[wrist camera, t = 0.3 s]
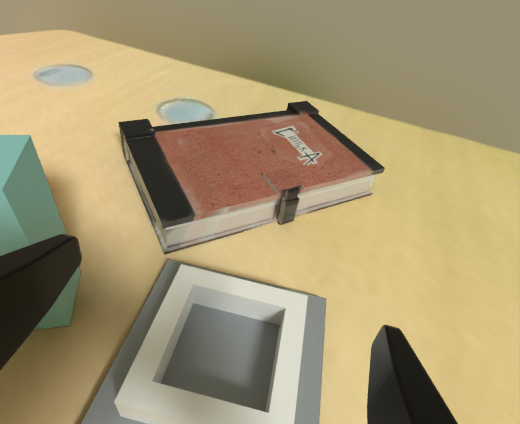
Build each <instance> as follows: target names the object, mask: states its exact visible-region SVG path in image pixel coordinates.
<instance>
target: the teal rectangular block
mask: <svg viewBox="0 0 520 424" xmlns="http://www.w3.org/2000/svg"><path fill="white" fill-rule="evenodd" d="M59 234H67V233H66V230H65V227H64V225H63V222H62V219H61V217H60V214H59V211H58V209H57V206H56V203H55V201H54V198H53V195H52V192H51V190H50V187H49V184H48V182H47V179H46V176H45V174H44V171H43V168H42V166H41V163H40V160H39V158H38V155H37V152H36V149H35V147H34V144H33V141H32V139H31V136H30V135H0V256H1V255H4V254H7V253H9V252H12V251H15V250H18V249H20V248H23V247H26V246H29V245H31V244H34V243H37V242H40V241H43V240H45V239H48V238H51V237H54V236H56V235H59ZM80 273H81V270H80V268H79V267H78V268H77V270H76V271H75V273H74V274H73V276H72V277H71V279H70V280H69V282H68V283H67V285H66V286H65V288H64V289H63V291H62V292H61V294H60V296H59V297H58V299H57V300H56V302H55V303H54V304H53V306H52V307H51V309H50V310H49V311H48V312H47V314H46V315H45V316H44V318H43V319H42V320H41V321H40V322H39V324H38V325H37V326H36V327H35V329H34V330H37V329H45V328H54V327H62V326H70V322H71V317H72V312H73V307H74V302H75V297H76V292H77V287H78V282H79V278H80Z"/></svg>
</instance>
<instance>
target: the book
mask: <svg viewBox="0 0 520 424" xmlns="http://www.w3.org/2000/svg"><path fill="white" fill-rule="evenodd" d="M318 112H319V110H317V109H316V108H315V107H314V106H312V105H311V104H310V103H309V102H307V101H303V102H294V103H288V107H287V110H286V111H278V112H270V113H262V114H254V115H246V116H237V117H229V118H221V119H213V120H205V121H197V122H189V123H180V124H172V125H164V126H156V127H152V125H151V124H150V122H149V120H148V119H142V120H133V121H124V122H119V128H120V134H121V140H122V146H123V152H124V157H125V159H126V162H127V164H128V167H129V169H130V171H131V174H132V176H133V179H134V181H135V184H136V186H137V189H138V191H139V193H140V196H141V198H142V201H143V203H144V206H145V208H146V211H147V213H148V215H149V218H150V220H151V223H152V225H153V228H154V230H155V233H156V235H157V237H158V240H159V242H160V245H161V247H162V250H163V252H164V254H168V253H171V252H175V251H178V250H182V249H185V248H189V247H192V246H196V245H199V244H203V243H206V242H210V241H213V240H216V239H220V238H223V237H227V236H230V235H234V234H237V233H241V232H244V231H248V230H251V229H255V228H258V227H261V226H265V225H268V224H272V223H275V222H279V223H280V225H281V224H284V223H288V222H291V221H294V217H296V216H300V215H303V214H306V213H310V212H313V211H317V210H320V209H324V208H327V207H331V206H334V205H338V204H341V203H345V202H348V201H351V200H355V199H358V198H362V197H365V196H369V195H372V194H373V192H372V191H371V190H370V187H371V185H372V182H373V180H374V178H375V176H376V174H379V173H383V171H384V169H385V168H384V167H383V166H382V165H381V164H379V163H378V162H377V161H376V160H374V159H373V158H372V157H371V156H369V155H368V154H367V153H366V152H365V151H363V150H362V149H361V148H360V147H358V146H357V145H356V144H355V143H353V142H352V141H351V140H350V139H348V138H347V137H346V136H345V135H344V134H342V133H341V132H340V131H339V130H337V129H336V128H335V127H334V126H332V125H331V124H330V123H329V122H327V121H326V120H325V119H324V118H323V117H321V116H320V115H319V114H318Z"/></svg>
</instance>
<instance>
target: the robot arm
mask: <svg viewBox="0 0 520 424" xmlns="http://www.w3.org/2000/svg"><path fill="white" fill-rule="evenodd" d="M81 260H82V256H81V251H80V247H79V242H78V239H77V238H76V237H74V236H71V235H67V234H59V235H56V236H54V237H51V238H48V239H45V240H43V241H40V242H37V243H34V244H31V245H29V246H26V247H23V248H20V249H18V250H15V251H12V252H9V253H7V254H4V255H1V256H0V370H1V369H2V368H3V367H4V365H5V364H6V363H7V362H8V361H9V359H10V358H11V357H12V356H13V354H14V353H15V352H16V351H17V349H18V348H19V347H20V346H21V345H22V343H23V342H24V341H25V340H26V338H27V337H28V336H29V335H30V333H31V332H32V331H33V330H34V329H35V327H36V326H37V325H38V324H39V322H40V321H41V320H42V319H43V318H44V316H45V315H46V314H47V312H48V311H49V310H50V309H51V307H52V306H53V304H54V303H55V302H56V300H57V299H58V297H59V296H60V294H61V292H62V291H63V289H64V288H65V286H66V285H67V283H68V282H69V280H70V279H71V277H72V276H73V274H74V273H75V271H76V270H77V268H78V267H79V265H80V263H81ZM367 421H368V424H458V423H457V421H456V420H455V418H454V417H453V415H452V413H451V412H450V410H449V408H448V407H447V405H446V403H445V402H444V400H443V398H442V397H441V395H440V394H439V392H438V390H437V389H436V387H435V385H434V384H433V382H432V380H431V379H430V377H429V375H428V374H427V372H426V371H425V369H424V367H423V366H422V364H421V362H420V361H419V359H418V357H417V356H416V354H415V352H414V351H413V349H412V348H411V346H410V344H409V343H408V341H407V339H406V338H405V336H404V334H403V333H402V331H401V330H400V329H399V328H396V327H393V326H389V325H383V326H382V327H381V329H380V331H379V333H378V334H377V336H376V338H375V340H374V341H373V344H372V348H371V359H370V372H369V386H368V401H367Z"/></svg>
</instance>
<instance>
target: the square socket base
mask: <svg viewBox="0 0 520 424" xmlns="http://www.w3.org/2000/svg"><path fill="white" fill-rule="evenodd" d="M325 314H326V298H323V297H319V296H314V295H310V294H306V293H302V292H298V291H294V290H290V289H286V288H282V287H278V286H274V285H270V284H266V283H262V282H258V281H254V280H250V279H246V278H242V277H238V276H234V275H230V274H226V273H222V272H218V271H214V270H210V269H206V268H202V267H198V266H194V265H190V264H186V263H182V262H178V261H174V260H170V259H168V261H167V263H166V265H165V266H164V268H163V270H162V272H161V274H160V276H159V278H158V280H157V282H156V283H155V285H154V287H153V289H152V291H151V293H150V295H149V297H148V298H147V300H146V302H145V304H144V306H143V308H142V310H141V312H140V313H139V315H138V317H137V319H136V321H135V323H134V325H133V327H132V328H131V330H130V332H129V334H128V336H127V338H126V340H125V342H124V344H123V345H122V347H121V349H120V351H119V353H118V355H117V357H116V359H115V360H114V362H113V364H112V366H111V368H110V370H109V372H108V374H107V375H106V377H105V379H104V381H103V383H102V385H101V387H100V389H99V390H98V392H97V394H96V396H95V398H94V400H93V402H92V404H91V406H90V407H89V409H88V411H87V413H86V415H85V417H84V419H83V421H82V422H81V424H319V417H320V400H321V382H322V365H323V348H324V331H325Z"/></svg>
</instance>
